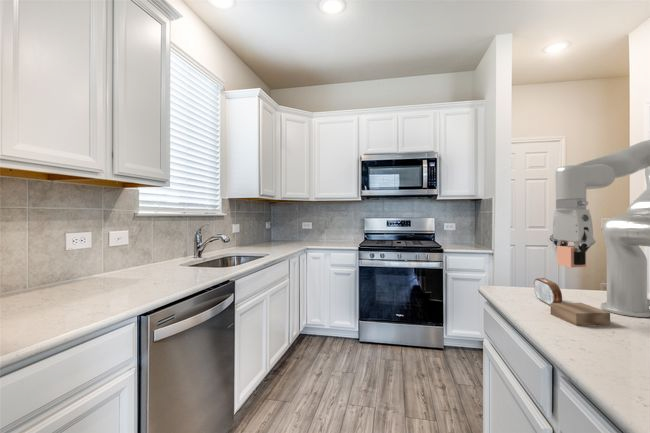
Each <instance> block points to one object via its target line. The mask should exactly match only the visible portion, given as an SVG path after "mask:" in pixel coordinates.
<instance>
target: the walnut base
mask: <svg viewBox="0 0 650 433" xmlns="http://www.w3.org/2000/svg"><path fill="white" fill-rule="evenodd" d="M549 307H550V308H549V309H550V315H551V316H553V317H555V318H557V319H560V320H562V321H564V322H566V323H569V324H571V325H573V326H576V327H582V326H583V327H586V326H589V325H592V326H593V325H596V326H611V312H609V311H606V310H604V309H602V308H601V309H600V308H597V307H594V306H592V305H589V304H586V303H584V302H583V303H582V302H562V303H550V306H549ZM589 327H590V326H589Z"/></svg>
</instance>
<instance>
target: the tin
mask: <svg viewBox="0 0 650 433" xmlns="http://www.w3.org/2000/svg"><path fill="white" fill-rule="evenodd" d="M533 286H534V294H535V296H536V298H537V299H538V300H539V301H540V302H542V303H544V304H546V305H547V306H549V307H550V303H563V294H562V290H561V288H560V287H559V285H558V283H556V282H554V281H552V280H549V279H547V278H546V277H542V278H540V277H539V278H535V279H534V281H533Z"/></svg>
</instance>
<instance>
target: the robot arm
mask: <svg viewBox="0 0 650 433" xmlns="http://www.w3.org/2000/svg"><path fill="white" fill-rule="evenodd" d="M642 170H644V176H645V181H646V189H645V190H644V191H643V192H642V193H641V194H640V195H639V196H638V197H637V198H635V199H634V200H633V201H632V202H631V203H630V205H629V206H628V207H627V209H626V214H625V215H617V216H612V217H609V218H608V219H606V220H605V221H604V223H603V224H602V227H601V229H602V230H601V231H602V235H603V239H604V243H605V251H606V302H602V303H601V304H600V308H601V310H603V311H606V312H609V313H613V314H616V315H623V316H628V317H638V318H650V298H648V258H647V256H646V254H645V252H644V250H642V248H641V247H650V139H648V140H643V141H640V142H637V143H635V144H633V145H630V146H628V147H625V148H622V149H620V150H617V151H615V152H612V153H608V154H606V155H603V156H599V157H597V158H592V159H590V160H587V161H583V162H581V163H577V164H575V165H574V164H573V165H571V164H570V165H564V166H560V167H558V168H556V169H555V171H554V172H555V174H554V176H555V178H554V179H555V180H554V182H555V209H554V213H553V214H554V215H553V221H552V234H551V235H550V238H549V239H550V240H551V241H552V242H553V243H554V245H555V247H556V249H557V246H569V242H570V243H571V242H572V243H573V246H575V249H576V252H574V264H575V265H585V252H586V253H587V252H588V250H589V249H590V248H591V246H593V245H595V244H596V240H595V239H594V226H593V220H592V216H591V215H592V214H591V212H590V209H587V206H588V205H589V201H587V190H596V189H597V190H599V189H604V188H607V187H609V186H611V185H612V184H613V183H614V182H615V180H616V179H619V178H622V177H623V178H624V177H626V176H631V175H633V174H636V173H637V172H639V171H642Z"/></svg>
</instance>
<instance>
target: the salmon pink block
mask: <svg viewBox="0 0 650 433" xmlns="http://www.w3.org/2000/svg"><path fill="white" fill-rule="evenodd" d="M574 252H576V249H575V245H568V246H557V248H556V265H557V266H562V267H567V268H586V267H587V252H585V265H575V264H574Z"/></svg>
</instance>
